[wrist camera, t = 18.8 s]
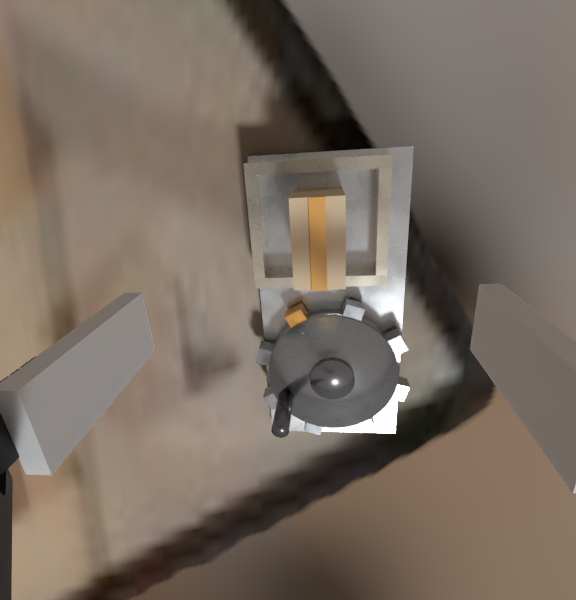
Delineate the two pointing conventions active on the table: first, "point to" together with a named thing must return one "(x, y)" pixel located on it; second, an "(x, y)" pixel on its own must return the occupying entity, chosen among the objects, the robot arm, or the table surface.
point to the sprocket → (331, 369)
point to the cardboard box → (318, 238)
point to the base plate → (359, 239)
